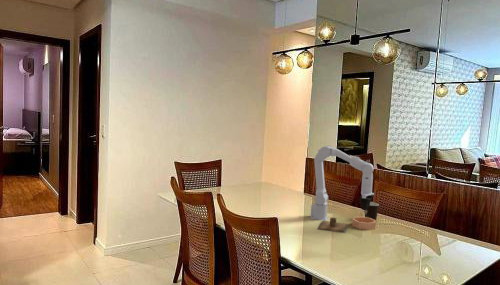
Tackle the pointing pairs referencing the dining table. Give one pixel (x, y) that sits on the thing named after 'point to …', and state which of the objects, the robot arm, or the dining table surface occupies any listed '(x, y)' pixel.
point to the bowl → (364, 223)
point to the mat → (334, 231)
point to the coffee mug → (372, 211)
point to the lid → (332, 225)
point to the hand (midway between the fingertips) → (365, 208)
